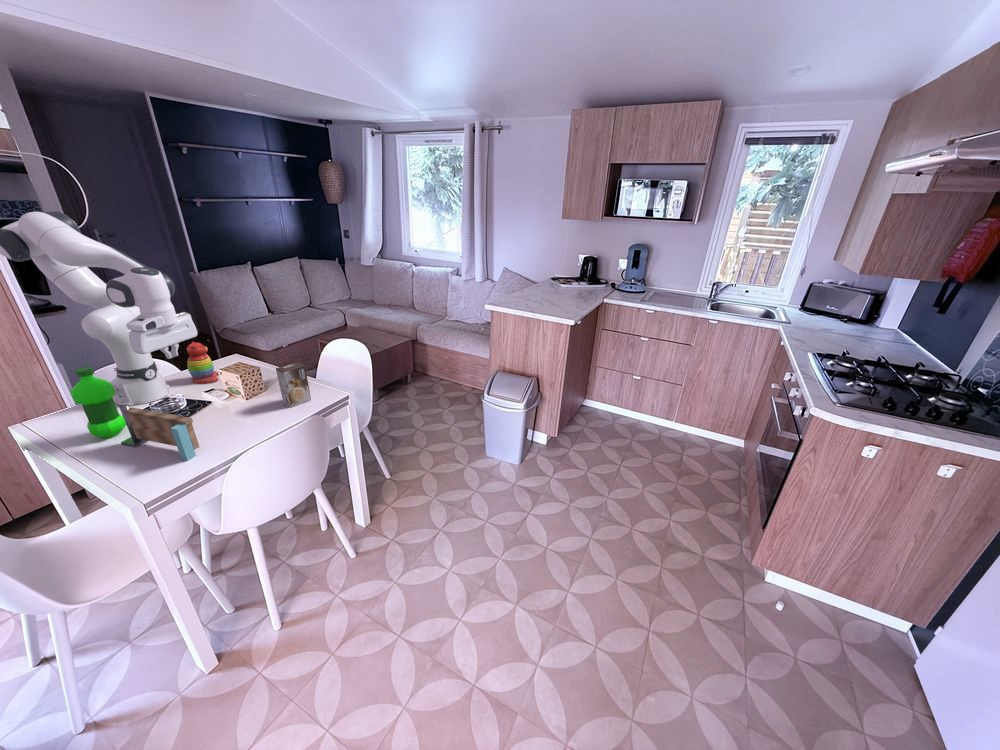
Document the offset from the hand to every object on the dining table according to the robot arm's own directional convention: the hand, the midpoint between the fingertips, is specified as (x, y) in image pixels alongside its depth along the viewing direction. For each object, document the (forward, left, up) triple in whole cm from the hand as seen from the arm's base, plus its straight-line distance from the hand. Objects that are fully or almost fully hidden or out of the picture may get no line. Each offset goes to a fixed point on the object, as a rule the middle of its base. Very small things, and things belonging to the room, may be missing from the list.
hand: (172, 357), depth 137 cm
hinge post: (-8, -14, -27) cm, 32 cm away
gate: (+5, -14, -25) cm, 29 cm away
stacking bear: (-28, +32, -27) cm, 51 cm away
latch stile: (+16, -17, -27) cm, 36 cm away
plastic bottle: (-21, -13, -27) cm, 37 cm away
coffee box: (+24, +26, -27) cm, 45 cm away
